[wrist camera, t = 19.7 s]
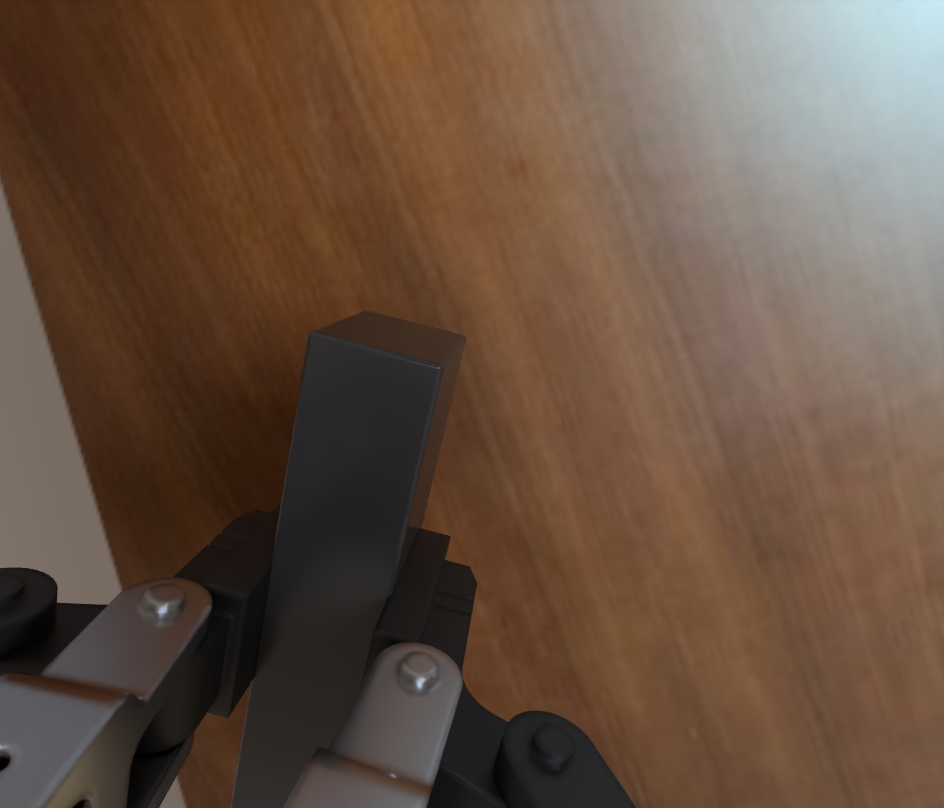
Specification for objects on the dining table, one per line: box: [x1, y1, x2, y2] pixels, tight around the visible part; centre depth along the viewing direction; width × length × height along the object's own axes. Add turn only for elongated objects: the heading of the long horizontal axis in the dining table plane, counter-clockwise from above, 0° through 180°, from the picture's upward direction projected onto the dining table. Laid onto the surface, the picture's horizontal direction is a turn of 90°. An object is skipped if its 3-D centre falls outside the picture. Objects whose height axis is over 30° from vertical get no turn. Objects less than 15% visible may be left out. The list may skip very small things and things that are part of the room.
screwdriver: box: [230, 311, 466, 808], centre depth 13 cm, size 20×2×3 cm, turn 167°
